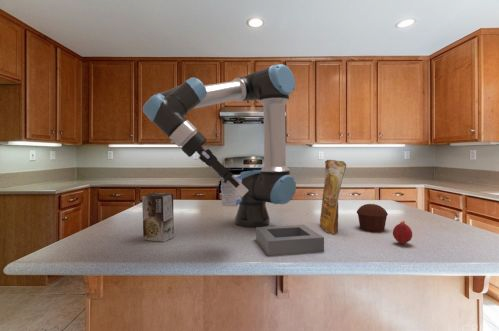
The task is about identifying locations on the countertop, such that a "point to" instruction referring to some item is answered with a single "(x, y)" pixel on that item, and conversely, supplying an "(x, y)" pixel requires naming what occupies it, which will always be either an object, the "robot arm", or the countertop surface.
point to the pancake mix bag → (331, 195)
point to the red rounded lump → (402, 233)
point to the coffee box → (158, 217)
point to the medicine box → (230, 193)
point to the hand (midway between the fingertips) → (242, 191)
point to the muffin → (372, 217)
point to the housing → (289, 240)
